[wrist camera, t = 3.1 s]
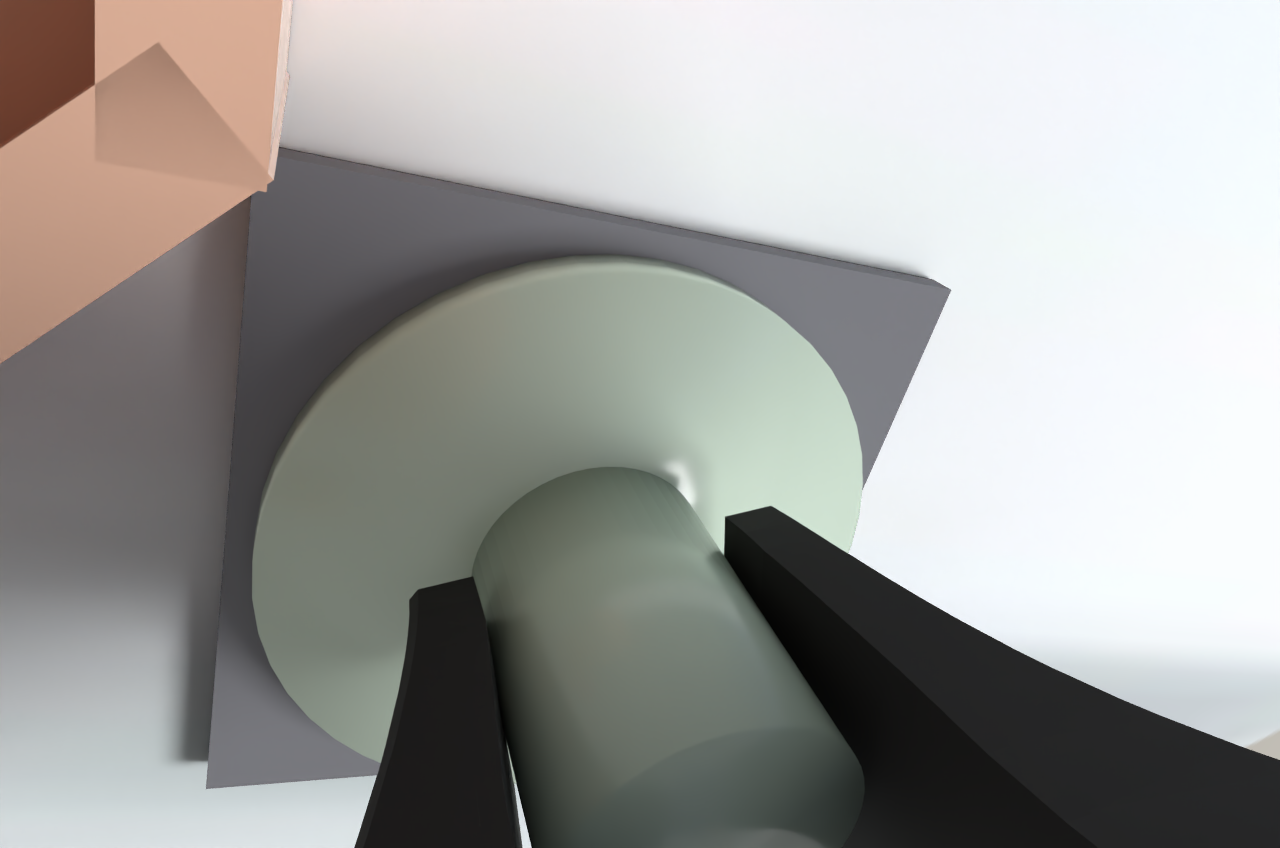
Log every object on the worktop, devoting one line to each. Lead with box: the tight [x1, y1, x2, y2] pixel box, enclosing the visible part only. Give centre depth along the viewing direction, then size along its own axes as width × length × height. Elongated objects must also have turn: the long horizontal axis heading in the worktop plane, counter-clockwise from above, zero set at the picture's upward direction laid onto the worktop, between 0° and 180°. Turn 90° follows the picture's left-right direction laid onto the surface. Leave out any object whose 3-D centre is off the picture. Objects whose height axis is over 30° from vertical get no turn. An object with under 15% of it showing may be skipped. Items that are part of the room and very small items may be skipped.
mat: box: [206, 148, 951, 789], centre depth 11 cm, size 8×8×1 cm
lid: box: [252, 254, 865, 848], centre depth 9 cm, size 8×8×5 cm
